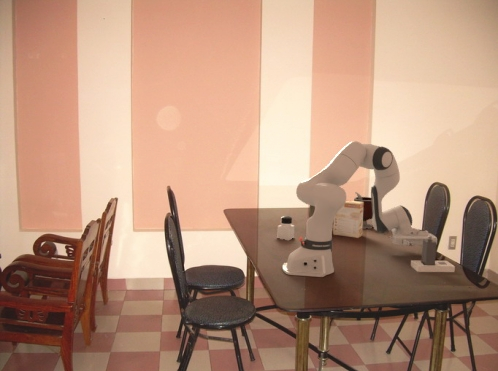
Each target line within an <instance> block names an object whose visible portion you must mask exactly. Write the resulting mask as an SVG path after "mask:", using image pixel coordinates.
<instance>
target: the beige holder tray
mask: <svg viewBox="0 0 498 371" xmlns="http://www.w3.org/2000/svg"><path fill="white" fill-rule="evenodd" d="M410 267H411V268H412V269H413V270H415V271H416V272H417V273H455V270H456V266H455V265H454V264H452V263H450V262H449V261H448V260H435V265H424V264H422V260H410Z"/></svg>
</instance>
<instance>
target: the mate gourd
mask: <svg viewBox="0 0 498 371" xmlns="http://www.w3.org/2000/svg"><path fill="white" fill-rule="evenodd" d="M355 195H356V196H355V197H354V199H353V201H359V202H364V205H363V225H362V229H366V228H368V229H373V228H372V227H373V225H372V223H368V222H367V221H369V220H372V202H371V196H370V197H369V196H362V195H361V194H360V193H358V192H357V191H355Z"/></svg>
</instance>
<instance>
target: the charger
mask: <svg viewBox="0 0 498 371" xmlns="http://www.w3.org/2000/svg"><path fill="white" fill-rule="evenodd" d="M436 243H437V244H438V241H437V242H435V241H433V240H432V236H428V240H423V245H422V249H421V250H422V252H421V261H422V264H424V265H435V261H436V257H437V256H436V254H437V244H436Z"/></svg>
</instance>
